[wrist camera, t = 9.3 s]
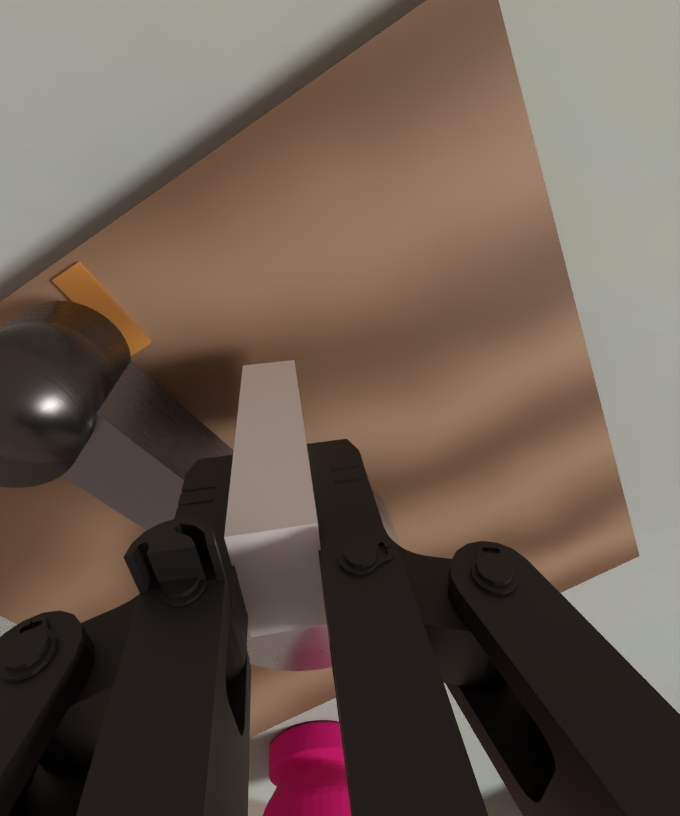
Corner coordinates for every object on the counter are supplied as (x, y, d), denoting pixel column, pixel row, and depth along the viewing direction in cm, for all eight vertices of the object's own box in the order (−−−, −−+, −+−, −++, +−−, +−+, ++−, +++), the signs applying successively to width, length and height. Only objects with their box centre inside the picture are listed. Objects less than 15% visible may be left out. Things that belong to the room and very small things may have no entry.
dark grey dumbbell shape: (419, 538, 19) (459, 635, 15) (295, 612, 20) (303, 719, 16) (123, 224, 11) (47, 260, 7) (-48, 380, 12) (-188, 479, 9)
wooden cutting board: (619, 534, 24) (641, 558, 23) (243, 714, 28) (241, 744, 26) (461, -20, 11) (491, -47, 10) (-211, 454, 15) (-262, 486, 13)
